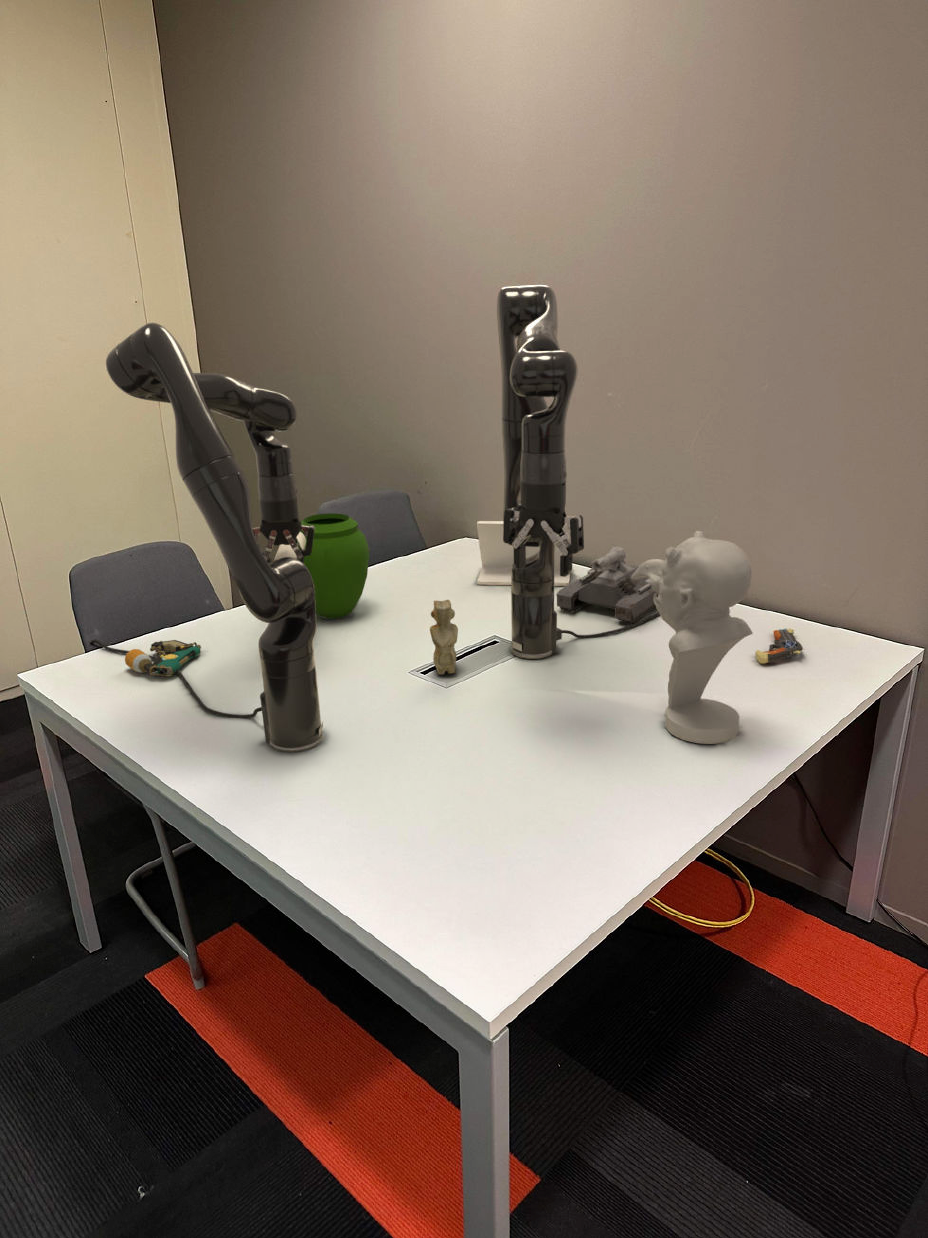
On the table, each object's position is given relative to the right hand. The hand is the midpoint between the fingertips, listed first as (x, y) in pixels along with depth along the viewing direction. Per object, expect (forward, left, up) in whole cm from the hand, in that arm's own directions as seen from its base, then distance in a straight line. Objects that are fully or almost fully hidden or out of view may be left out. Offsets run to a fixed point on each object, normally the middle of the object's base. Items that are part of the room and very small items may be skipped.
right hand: (542, 571), depth 146 cm
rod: (+43, -49, -10) cm, 66 cm away
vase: (+34, -69, -29) cm, 82 cm away
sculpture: (+13, -28, -29) cm, 42 cm away
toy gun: (-58, -20, -29) cm, 68 cm away
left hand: (+44, -40, -9) cm, 60 cm away
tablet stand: (-20, -86, -29) cm, 93 cm away
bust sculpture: (-24, +6, -29) cm, 39 cm away
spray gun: (+72, -47, -29) cm, 90 cm away
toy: (-36, -56, -29) cm, 73 cm away
